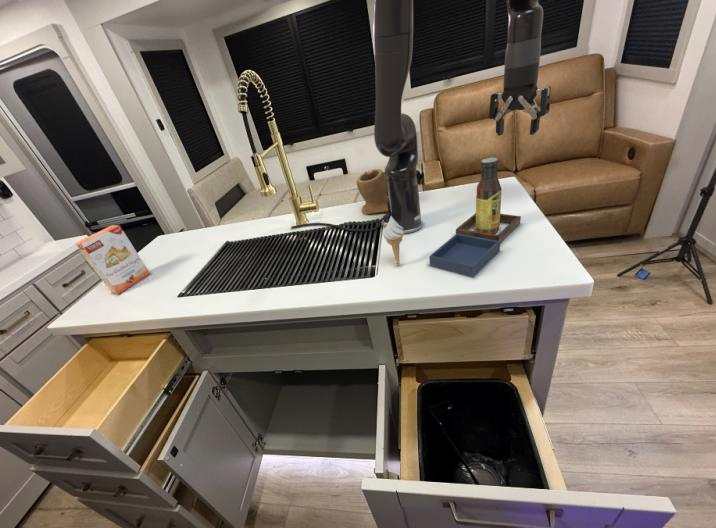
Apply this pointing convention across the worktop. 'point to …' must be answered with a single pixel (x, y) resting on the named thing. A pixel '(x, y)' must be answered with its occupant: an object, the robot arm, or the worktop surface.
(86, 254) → the cracker box
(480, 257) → the slate tray
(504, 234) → the walnut frame
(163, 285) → the worktop surface
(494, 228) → the sauce bottle
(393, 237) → the ice cream cone
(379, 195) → the stone cup
